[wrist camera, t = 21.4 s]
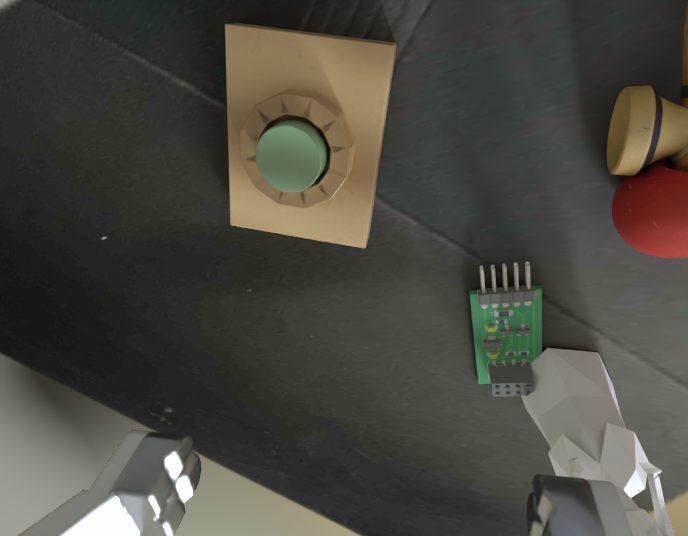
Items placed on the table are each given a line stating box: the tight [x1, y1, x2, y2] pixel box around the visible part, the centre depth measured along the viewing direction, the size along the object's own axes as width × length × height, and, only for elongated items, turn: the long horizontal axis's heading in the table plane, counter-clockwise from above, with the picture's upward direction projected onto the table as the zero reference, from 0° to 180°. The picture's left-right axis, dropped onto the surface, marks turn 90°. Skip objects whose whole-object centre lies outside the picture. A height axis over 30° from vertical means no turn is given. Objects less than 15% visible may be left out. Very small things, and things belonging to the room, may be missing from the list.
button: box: [255, 119, 327, 192], centre depth 27 cm, size 4×4×2 cm
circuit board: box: [470, 261, 542, 396], centre depth 34 cm, size 12×3×5 cm
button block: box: [225, 23, 397, 248], centre depth 29 cm, size 13×10×4 cm
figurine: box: [521, 348, 675, 536], centre depth 29 cm, size 7×8×18 cm
